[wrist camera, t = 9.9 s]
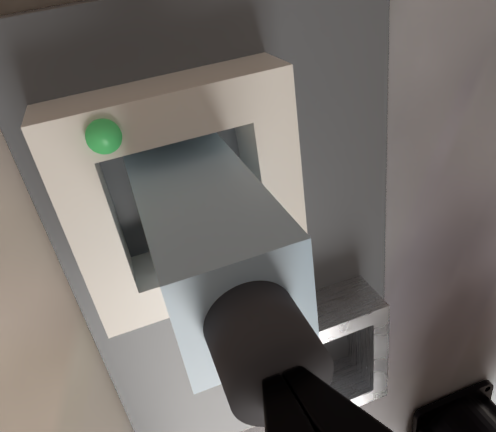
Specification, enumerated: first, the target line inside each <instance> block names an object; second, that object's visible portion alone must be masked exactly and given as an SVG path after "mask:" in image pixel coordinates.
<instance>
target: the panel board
mask: <svg viewBox="0 0 496 432" xmlns="http://www.w3.org/2000/svg"><path fill="white" fill-rule="evenodd" d="M389 6H390V0H85V1H79V2H74V3H68V4H63V5H57V6H52V7H46V8H40V9H35V10H29V11H24V12H18V13H13V14H7V15H2V16H0V129H1V131H2V133H3V136H4V138H5V140H6V142H7V145H8V147H9V149H10V151H11V154H12V156H13V158H14V160H15V163H16V165H17V167H18V169H19V172H20V174H21V176H22V179H23V181H24V183H25V185H26V188H27V190H28V192H29V194H30V197H31V199H32V201H33V203H34V206H35V208H36V210H37V212H38V215H39V217H40V219H41V222H42V224H43V226H44V228H45V231H46V233H47V235H48V237H49V240H50V242H51V244H52V246H53V249H54V251H55V253H56V255H57V258H58V260H59V262H60V265H61V267H62V269H63V271H64V274H65V276H66V278H67V280H68V283H69V285H70V287H71V289H72V292H73V294H74V296H75V298H76V301H77V303H78V305H79V308H80V310H81V312H82V314H83V317H84V319H85V321H86V323H87V326H88V328H89V330H90V332H91V335H92V337H93V339H94V341H95V344H96V346H97V348H98V351H99V353H100V355H101V357H102V360H103V362H104V364H105V366H106V369H107V371H108V373H109V375H110V378H111V380H112V382H113V384H114V387H115V389H116V391H117V394H118V396H119V398H120V400H121V403H122V405H123V407H124V409H125V412H126V414H127V416H128V418H129V421H130V423H131V425H132V427H133V430H134V432H242V431H245V430H247V429H250V428H252V427H254V426H251V425H247V424H245V423H243V422H241V421H239V420H238V419H237V418H236V417H235V416H234V415H233V413H232V411H231V409H230V406H229V403H228V400H227V398H226V395H225V392H224V390H223V387H222V384H221V385H218V386H215V387H213V388H210V389H208V390H205V391H202V392H200V393H197V394H193V391H192V388H191V384H190V381H189V378H188V375H187V372H186V368H185V365H184V362H183V359H182V356H181V353H180V349H179V346H178V343H177V340H176V337H175V333H174V330H173V327H172V324H171V321H170V318H167V319H165V320H162V321H159V322H156V323H153V324H150V325H147V326H144V327H141V328H138V329H135V330H132V331H129V332H126V333H123V334H120V335H117V336H115V337H112V338H108V336H107V334H106V331H105V329H104V326H103V324H102V322H101V319H100V317H99V314H98V312H97V310H96V307H95V305H94V302H93V300H92V298H91V295H90V293H89V290H88V288H87V286H86V283H85V281H84V278H83V276H82V274H81V271H80V269H79V267H78V264H77V262H76V259H75V257H74V255H73V252H72V250H71V247H70V245H69V243H68V240H67V238H66V235H65V233H64V231H63V228H62V226H61V223H60V221H59V219H58V216H57V214H56V211H55V209H54V207H53V204H52V202H51V199H50V197H49V195H48V192H47V190H46V187H45V185H44V183H43V180H42V178H41V175H40V173H39V171H38V168H37V166H36V164H35V161H34V159H33V156H32V154H31V152H30V149H29V147H28V144H27V142H26V140H25V137H24V135H23V132H22V130H21V124H22V121H23V118H24V114H25V111H26V108H27V105H31V104H35V103H40V102H44V101H49V100H53V99H57V98H62V97H66V96H71V95H75V94H80V93H84V92H89V91H93V90H98V89H102V88H107V87H111V86H116V85H120V84H125V83H129V82H134V81H138V80H143V79H147V78H152V77H156V76H161V75H165V74H169V73H174V72H178V71H183V70H187V69H192V68H196V67H201V66H205V65H210V64H214V63H219V62H223V61H228V60H232V59H237V58H241V57H246V56H250V55H255V54H259V53H264V52H265V53H268V54H270V55H272V56H275V57H277V58H279V59H282V60H284V61H286V62H288V63H291V64H293V73H294V85H295V96H296V107H297V119H298V130H299V142H300V153H301V165H302V176H303V188H304V199H305V211H306V222H307V234H308V235H309V236H310V238H311V244H312V255H313V267H314V279H315V290H318V289H321V288H324V287H326V286H329V285H332V284H335V283H338V282H341V281H343V280H346V279H349V278H352V277H355V276H358V275H361V276H362V277H363V278H364V279H365V281H366V282H367V283H368V284H369V285H370V286H371V287H372V288H373V289H374V290H375V291H376V292H377V293H378V294H379V295H380V296H381V297H382V298H383V300H384V274H385V221H386V167H387V114H388V60H389ZM216 133H217V134H218V135H219V136H220V137H221V138H222V139H223V140H224V141H225V143H226V144H227V145H228V146H229V147H230V148H231V149H232V150H233V152H234V153H235V154H236V155H237V156H238V157H239V158H240V156H239V150H238V143H237V137H236V131H235V128H231V129H227V130H223V131H219V132H216ZM99 164H100V167H101V170H102V173H103V176H104V179H105V182H106V185H107V188H108V191H109V194H110V197H111V199H112V202H113V205H114V208H115V211H116V214H117V217H118V220H119V223H120V226H121V229H122V232H123V235H124V238H125V241H126V244H127V247H128V250H129V253H130V256H131V257H133V256H137V255H140V254H143V253H146V252H150V250H149V247H148V243H147V240H146V236H145V233H144V229H143V226H142V222H141V219H140V215H139V212H138V208H137V205H136V201H135V198H134V194H133V191H132V187H131V184H130V180H129V177H128V173H127V170H126V166H125V163H124V159H123V156H122V157H118V158H114V159H111V160H107V161H103V162H99ZM323 345H324V346H325V348H326V349H327V351H328V352H329V354H330V355H331V357H332V360H333V361H336V360H338V359H341V358H344V357H346V356H348V335H345V336H343V337H340V338H337V339H335V340H332V341H329V342H327V343H324V344H323Z"/></svg>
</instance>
